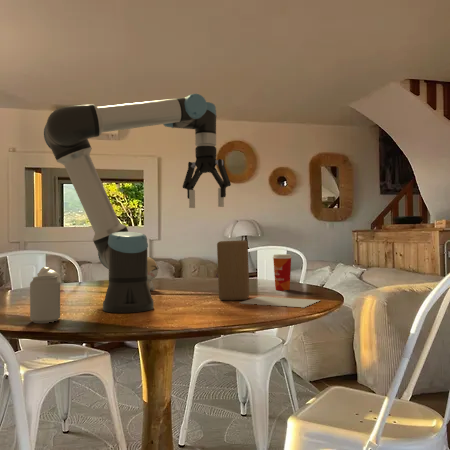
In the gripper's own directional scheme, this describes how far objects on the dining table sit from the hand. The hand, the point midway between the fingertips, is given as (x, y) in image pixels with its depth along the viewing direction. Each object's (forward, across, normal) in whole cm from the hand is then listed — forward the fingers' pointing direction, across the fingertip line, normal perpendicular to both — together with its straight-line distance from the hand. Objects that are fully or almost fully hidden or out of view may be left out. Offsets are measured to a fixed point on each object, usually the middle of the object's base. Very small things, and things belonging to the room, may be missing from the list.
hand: (206, 207), depth 170 cm
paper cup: (+32, -16, -31) cm, 48 cm away
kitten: (+32, +32, -5) cm, 46 cm away
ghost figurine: (+32, +66, +14) cm, 75 cm away
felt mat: (+32, -28, 0) cm, 43 cm away
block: (+32, -11, 0) cm, 34 cm away
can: (+32, +15, +58) cm, 68 cm away
